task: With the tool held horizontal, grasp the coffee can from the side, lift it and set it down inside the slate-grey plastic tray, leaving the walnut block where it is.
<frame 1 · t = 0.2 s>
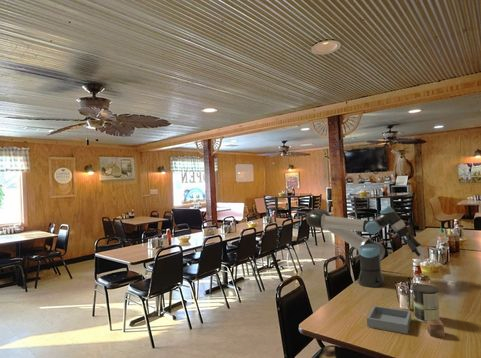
hand: (424, 258, 197), 15 cm above the table, tool tilted 35°, fingers open, 13 cm apart
walnut block: (435, 334, 134), on the table
coffee can: (426, 319, 149), on the table
tray: (389, 323, 147), on the table
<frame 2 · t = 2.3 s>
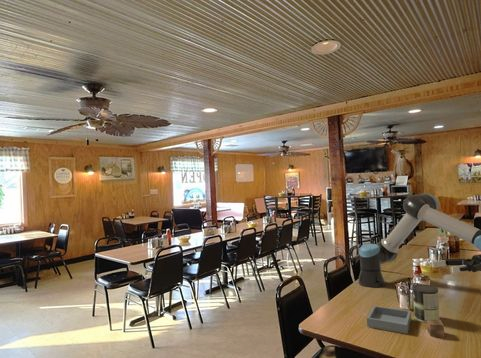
hand: (441, 267, 152), 22 cm above the table, tool horizontal, fingers open, 13 cm apart
nothing on the table moved.
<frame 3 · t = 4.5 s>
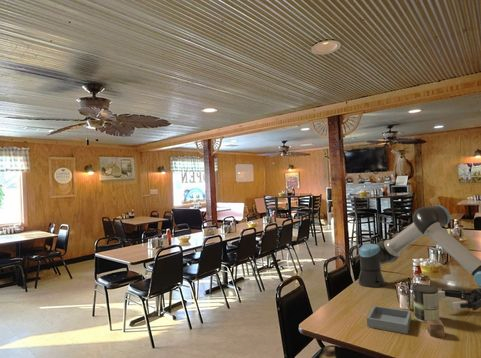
hand: (441, 300, 149), 8 cm above the table, tool horizontal, fingers open, 13 cm apart
nothing on the table moved.
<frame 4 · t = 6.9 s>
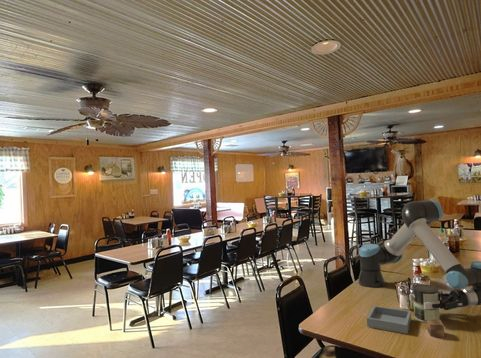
hand: (416, 301, 149), 8 cm above the table, tool horizontal, fingers closed on coffee can, 10 cm apart
coffee can: (426, 318, 149), on the table, touching gripper
everything else where it was.
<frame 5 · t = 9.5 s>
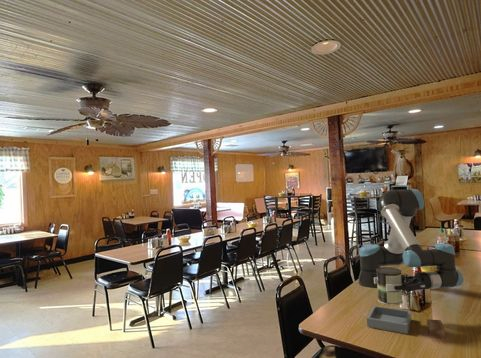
hand: (380, 284, 146), 18 cm above the table, tool horizontal, fingers closed on coffee can, 10 cm apart
coffee can: (390, 301, 147), point 10 cm above the table, touching gripper
everything else where it was.
when the fingers open (10 cm above the table, at t = 12.0 s): coffee can drops 1 cm, resting on tray.
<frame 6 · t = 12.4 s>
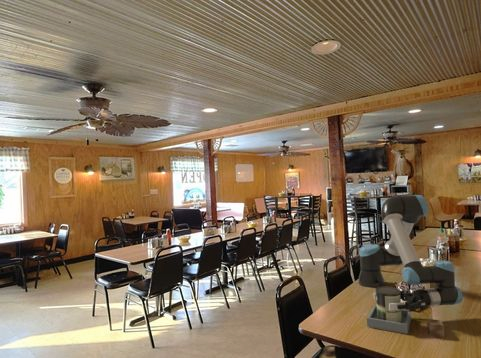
hand: (381, 301, 147), 10 cm above the table, tool horizontal, fingers open, 13 cm apart
coffee can: (389, 321, 147), point 1 cm above the table, touching tray
everything else where it was.
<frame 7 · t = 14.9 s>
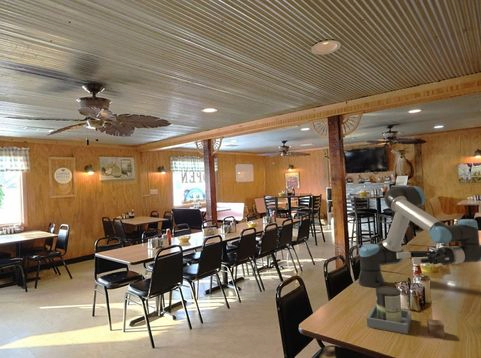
hand: (404, 258, 149), 28 cm above the table, tool horizontal, fingers open, 13 cm apart
nothing on the table moved.
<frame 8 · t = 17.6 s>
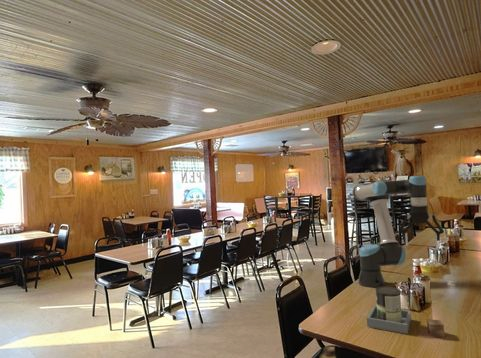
hand: (421, 246, 169), 29 cm above the table, tool pointing down, fingers open, 13 cm apart
nothing on the table moved.
at the end: coffee can inside the target area on the tray (0.1 cm from its centre), point 0.6 cm above the tray's base; coffee can tilted 0°; the gripper is holding nothing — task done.
